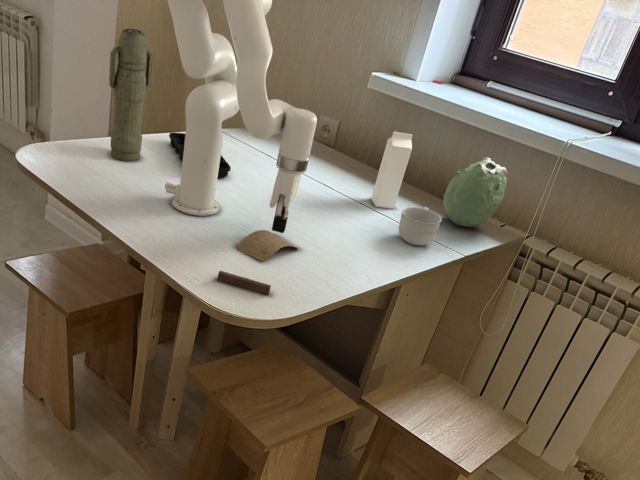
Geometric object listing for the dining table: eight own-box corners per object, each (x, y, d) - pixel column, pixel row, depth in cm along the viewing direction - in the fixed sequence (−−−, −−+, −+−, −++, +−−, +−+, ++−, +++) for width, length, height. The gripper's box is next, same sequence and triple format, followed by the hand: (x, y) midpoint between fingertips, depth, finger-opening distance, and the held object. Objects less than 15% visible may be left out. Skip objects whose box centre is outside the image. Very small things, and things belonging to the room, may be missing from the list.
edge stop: (217, 280, 151) (218, 272, 150) (218, 278, 152) (220, 270, 151) (268, 295, 150) (269, 287, 149) (269, 293, 151) (271, 285, 150)
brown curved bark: (264, 264, 162) (266, 253, 160) (234, 246, 167) (235, 236, 165) (301, 250, 172) (303, 240, 170) (271, 234, 176) (273, 224, 175)
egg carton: (200, 142, 225) (201, 131, 223) (246, 178, 205) (248, 166, 203) (151, 144, 216) (152, 132, 214) (194, 181, 196) (196, 169, 194)
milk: (393, 209, 206) (416, 138, 194) (374, 206, 205) (396, 134, 193) (389, 201, 211) (410, 131, 199) (370, 198, 210) (390, 128, 198)
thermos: (150, 160, 204) (160, 35, 184) (115, 163, 197) (122, 34, 178) (135, 149, 209) (144, 27, 190) (100, 152, 202) (106, 25, 183)
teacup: (424, 253, 183) (433, 226, 179) (388, 238, 187) (396, 212, 183) (441, 239, 194) (450, 213, 189) (406, 225, 197) (415, 199, 193)
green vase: (424, 218, 204) (446, 154, 193) (458, 209, 216) (480, 148, 205) (467, 241, 196) (493, 175, 184) (500, 230, 208) (526, 167, 196)
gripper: (284, 150, 172) (271, 216, 182) (270, 167, 160) (256, 237, 170) (313, 157, 171) (298, 224, 181) (300, 175, 159) (285, 245, 169)
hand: (278, 230), depth 176 cm, fingers closed
